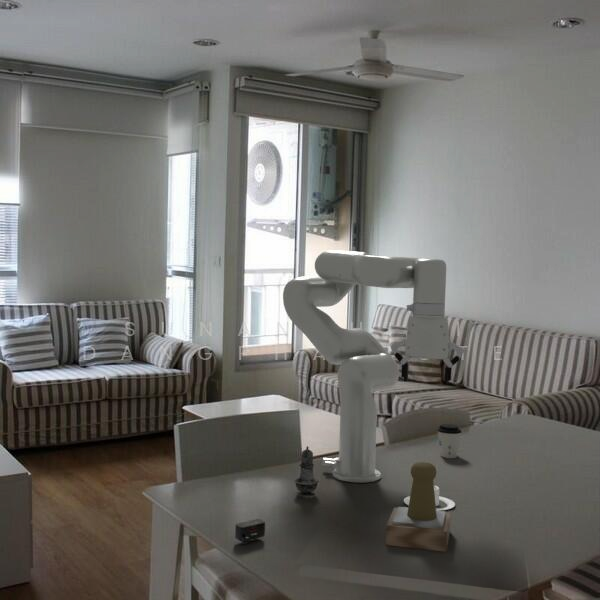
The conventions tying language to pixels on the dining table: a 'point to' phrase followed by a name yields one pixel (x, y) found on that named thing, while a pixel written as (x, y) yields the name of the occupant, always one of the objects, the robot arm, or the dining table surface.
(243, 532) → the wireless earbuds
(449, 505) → the candle holder
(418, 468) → the cork
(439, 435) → the coffee cup
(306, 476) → the dark grey tiered figure
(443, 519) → the wooden framed mirror
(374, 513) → the dining table surface
